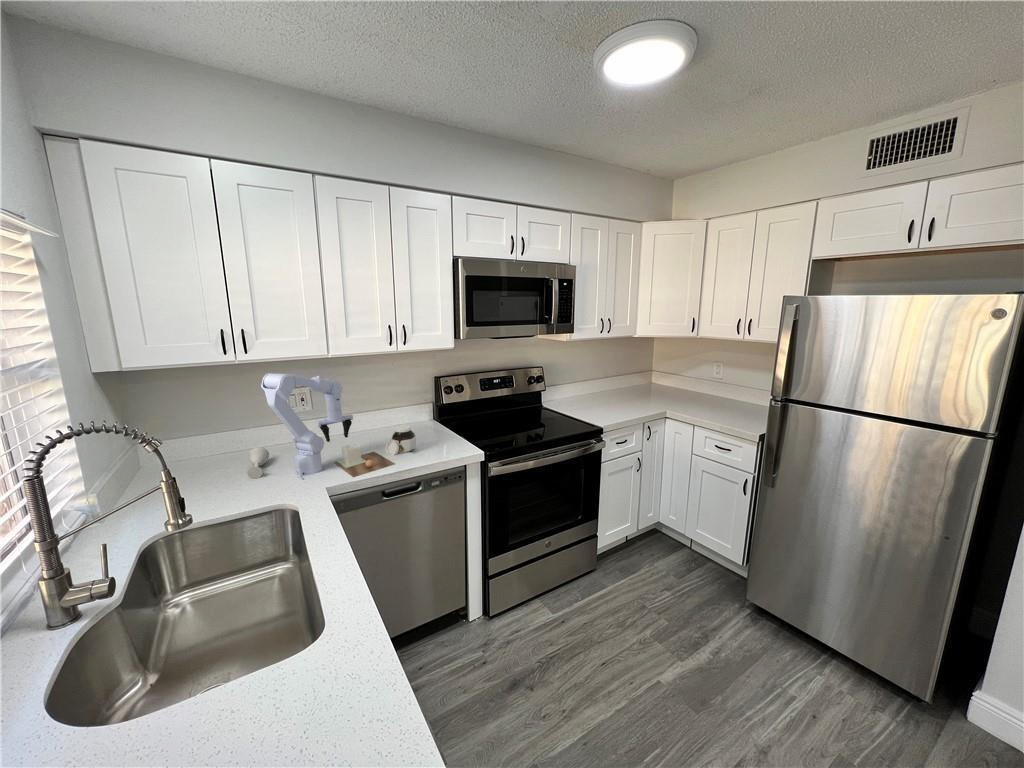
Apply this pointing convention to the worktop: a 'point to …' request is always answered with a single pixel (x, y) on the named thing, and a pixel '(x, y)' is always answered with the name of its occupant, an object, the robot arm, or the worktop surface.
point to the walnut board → (362, 469)
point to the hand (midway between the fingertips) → (337, 439)
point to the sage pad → (351, 464)
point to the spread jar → (401, 440)
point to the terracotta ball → (369, 463)
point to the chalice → (257, 461)
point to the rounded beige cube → (351, 454)
